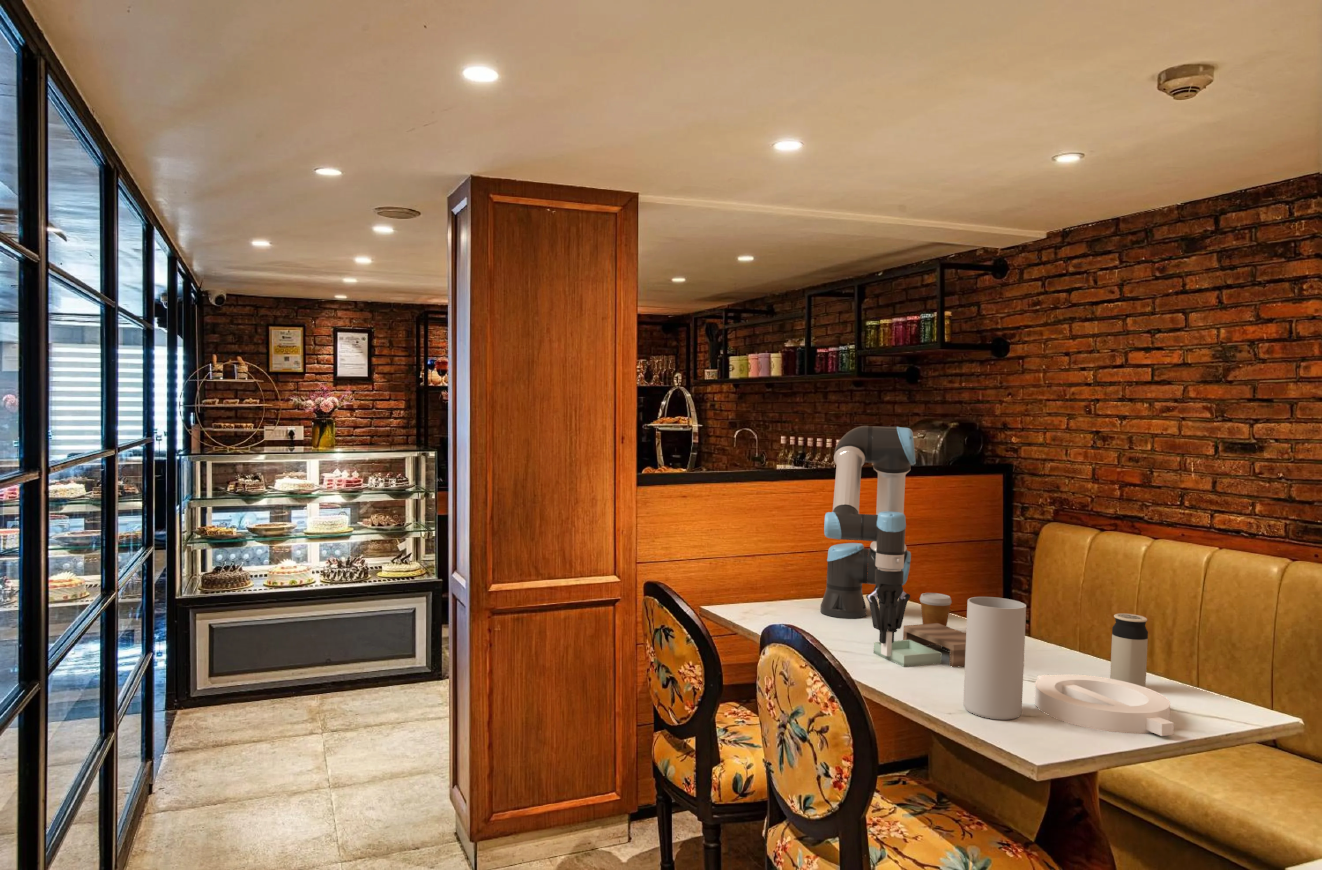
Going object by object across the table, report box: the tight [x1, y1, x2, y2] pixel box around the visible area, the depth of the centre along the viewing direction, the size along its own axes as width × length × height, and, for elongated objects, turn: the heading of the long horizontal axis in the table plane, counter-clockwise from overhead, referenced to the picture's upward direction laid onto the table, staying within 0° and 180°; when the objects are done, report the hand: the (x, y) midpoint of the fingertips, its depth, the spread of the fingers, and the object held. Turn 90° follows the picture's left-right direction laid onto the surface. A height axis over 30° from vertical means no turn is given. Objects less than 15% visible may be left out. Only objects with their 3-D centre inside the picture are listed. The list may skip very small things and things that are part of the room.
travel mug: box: [1109, 613, 1149, 687], centre depth 228 cm, size 8×8×18 cm
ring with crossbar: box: [1033, 674, 1175, 737], centre depth 209 cm, size 28×28×5 cm
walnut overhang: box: [902, 623, 966, 668], centre depth 254 cm, size 22×12×6 cm, turn 21°
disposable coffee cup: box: [918, 592, 953, 627], centre depth 277 cm, size 10×10×12 cm
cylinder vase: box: [962, 596, 1027, 721], centre depth 206 cm, size 12×12×25 cm
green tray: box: [873, 639, 942, 668], centre depth 250 cm, size 14×12×3 cm
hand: (886, 654), depth 247 cm, fingers closed
